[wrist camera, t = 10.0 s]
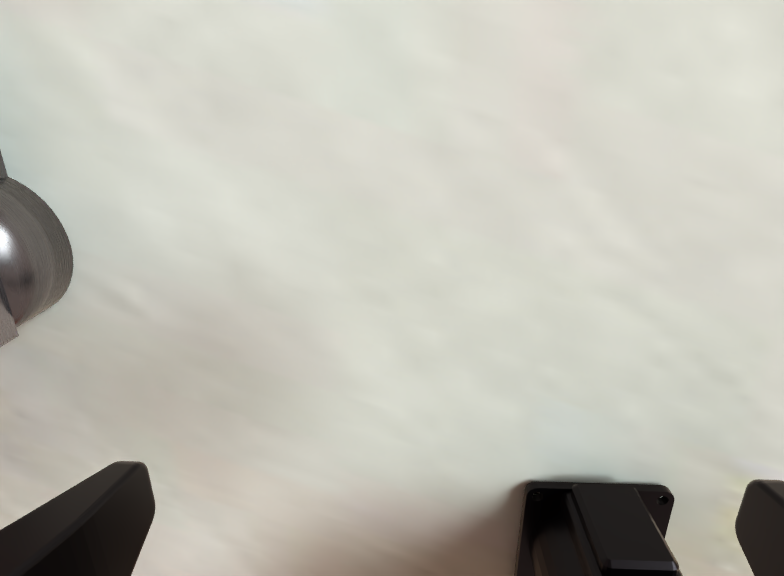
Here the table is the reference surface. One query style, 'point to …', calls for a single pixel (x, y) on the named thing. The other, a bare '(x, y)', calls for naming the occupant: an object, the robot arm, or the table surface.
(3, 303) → the grey cubic block
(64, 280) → the ratchet
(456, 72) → the table surface
